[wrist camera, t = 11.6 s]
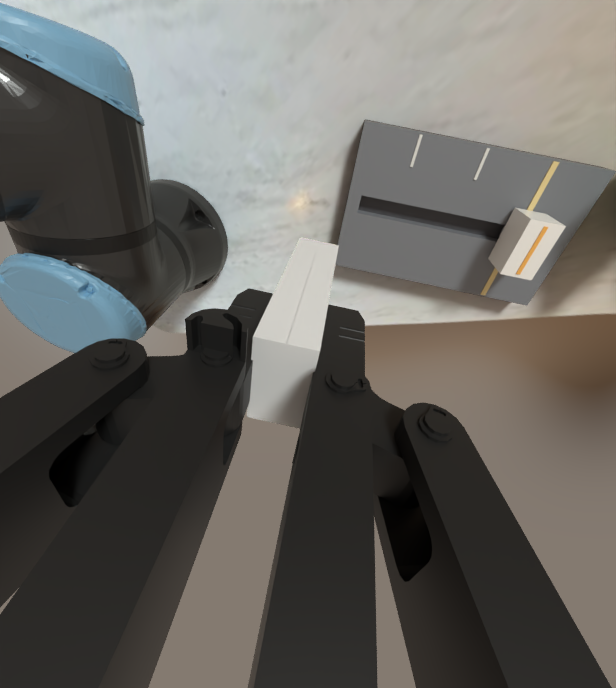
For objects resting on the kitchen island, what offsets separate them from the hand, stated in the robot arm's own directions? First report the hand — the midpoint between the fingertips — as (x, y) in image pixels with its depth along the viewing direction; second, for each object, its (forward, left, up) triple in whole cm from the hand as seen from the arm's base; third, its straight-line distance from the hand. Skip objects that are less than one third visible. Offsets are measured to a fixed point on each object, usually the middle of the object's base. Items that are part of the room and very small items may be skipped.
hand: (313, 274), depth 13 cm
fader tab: (+21, -4, -30) cm, 37 cm away
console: (+14, -4, -32) cm, 35 cm away
